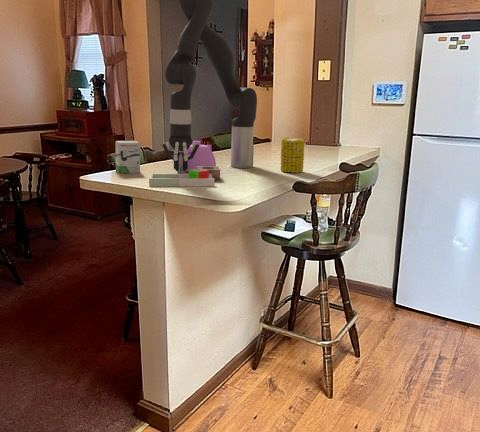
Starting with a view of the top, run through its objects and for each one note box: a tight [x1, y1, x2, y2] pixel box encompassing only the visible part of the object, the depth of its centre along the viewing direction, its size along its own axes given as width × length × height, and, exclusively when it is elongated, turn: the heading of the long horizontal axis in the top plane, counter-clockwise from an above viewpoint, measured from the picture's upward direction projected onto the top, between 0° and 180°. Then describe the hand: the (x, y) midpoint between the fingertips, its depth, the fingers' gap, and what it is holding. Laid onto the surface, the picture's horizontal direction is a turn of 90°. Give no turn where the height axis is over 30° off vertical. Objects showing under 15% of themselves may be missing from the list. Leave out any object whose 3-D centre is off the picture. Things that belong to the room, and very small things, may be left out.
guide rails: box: [178, 173, 215, 187], centre depth 166 cm, size 12×10×2 cm
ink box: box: [115, 140, 141, 174], centre depth 183 cm, size 9×5×12 cm, turn 118°
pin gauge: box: [176, 151, 185, 174], centre depth 171 cm, size 2×2×10 cm
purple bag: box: [184, 140, 217, 173], centre depth 191 cm, size 22×16×12 cm
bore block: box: [197, 165, 221, 182], centre depth 175 cm, size 8×8×4 cm
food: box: [280, 136, 305, 174], centre depth 194 cm, size 15×12×10 cm
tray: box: [148, 173, 180, 187], centre depth 164 cm, size 10×10×2 cm
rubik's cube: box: [188, 169, 209, 178], centre depth 165 cm, size 5×5×5 cm
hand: (180, 170), depth 172 cm, fingers closed on pin gauge, 2 cm apart
